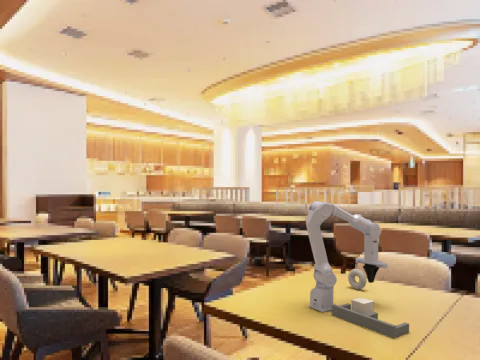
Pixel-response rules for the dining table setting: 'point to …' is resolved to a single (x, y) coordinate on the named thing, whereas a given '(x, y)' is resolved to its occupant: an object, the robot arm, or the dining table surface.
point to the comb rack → (369, 321)
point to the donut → (362, 279)
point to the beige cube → (363, 306)
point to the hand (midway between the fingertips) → (370, 282)
